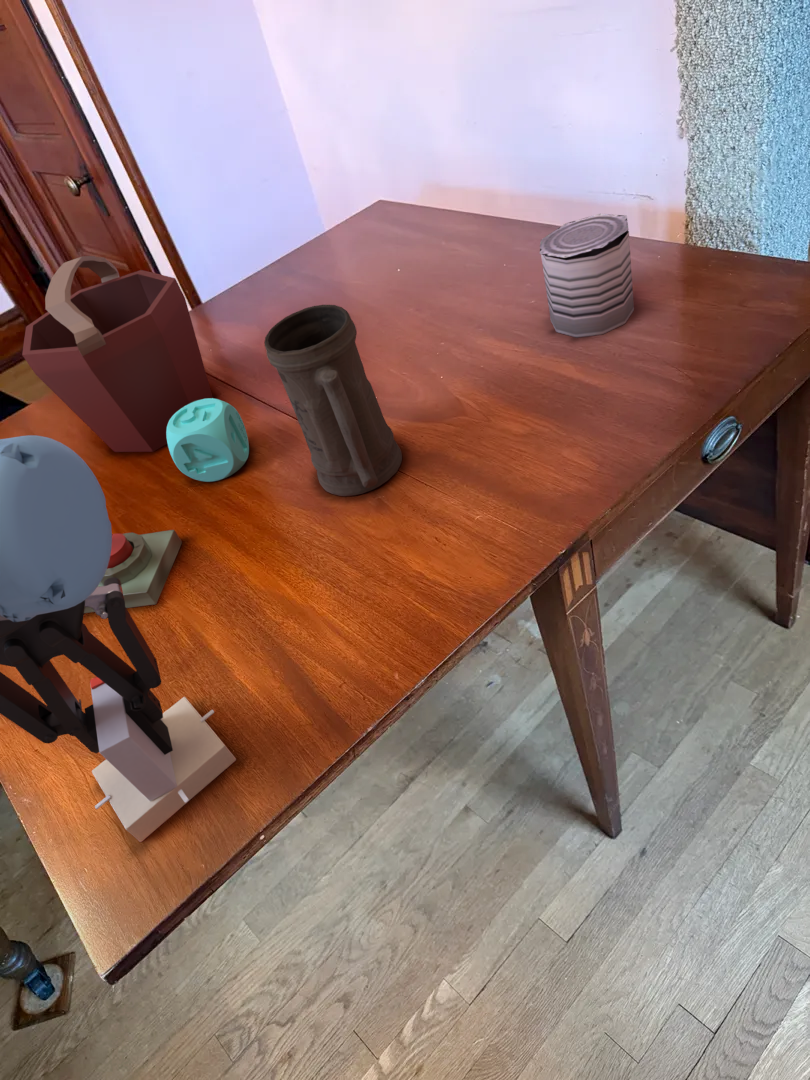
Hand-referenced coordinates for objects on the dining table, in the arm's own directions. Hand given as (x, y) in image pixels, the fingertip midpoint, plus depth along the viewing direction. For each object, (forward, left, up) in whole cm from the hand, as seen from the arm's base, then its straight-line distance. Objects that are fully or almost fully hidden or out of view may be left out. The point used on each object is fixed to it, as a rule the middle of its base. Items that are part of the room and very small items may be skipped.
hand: (148, 749), depth 64 cm
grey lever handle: (0, 0, -1) cm, 1 cm away
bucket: (+60, +23, -4) cm, 64 cm away
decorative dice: (+46, +8, -4) cm, 47 cm away
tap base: (0, 0, -4) cm, 4 cm away
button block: (+26, +14, -4) cm, 30 cm away
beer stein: (+38, -14, -4) cm, 41 cm away
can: (+66, -43, -4) cm, 79 cm away
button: (+26, +14, 0) cm, 30 cm away
